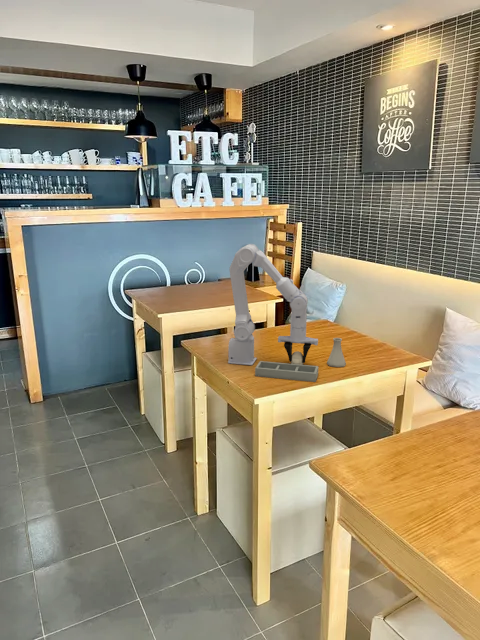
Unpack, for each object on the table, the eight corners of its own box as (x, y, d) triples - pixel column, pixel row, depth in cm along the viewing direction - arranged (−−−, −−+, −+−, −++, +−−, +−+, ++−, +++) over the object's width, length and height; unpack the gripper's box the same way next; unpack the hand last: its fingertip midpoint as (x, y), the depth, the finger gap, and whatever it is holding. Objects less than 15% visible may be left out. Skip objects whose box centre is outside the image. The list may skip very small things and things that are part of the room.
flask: (344, 361, 188) (346, 336, 185) (347, 368, 181) (348, 342, 178) (325, 360, 188) (326, 335, 186) (327, 367, 181) (328, 341, 179)
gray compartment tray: (255, 376, 173) (255, 368, 172) (259, 368, 180) (259, 361, 179) (315, 382, 167) (316, 373, 167) (318, 374, 174) (318, 366, 174)
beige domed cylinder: (290, 366, 182) (290, 352, 180) (292, 362, 186) (292, 349, 185) (302, 367, 181) (302, 353, 179) (303, 364, 185) (304, 350, 184)
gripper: (319, 325, 181) (318, 359, 185) (280, 322, 185) (279, 356, 189) (317, 330, 175) (315, 366, 178) (277, 327, 179) (276, 362, 182)
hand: (297, 361), depth 183 cm, fingers closed on beige domed cylinder, 4 cm apart
